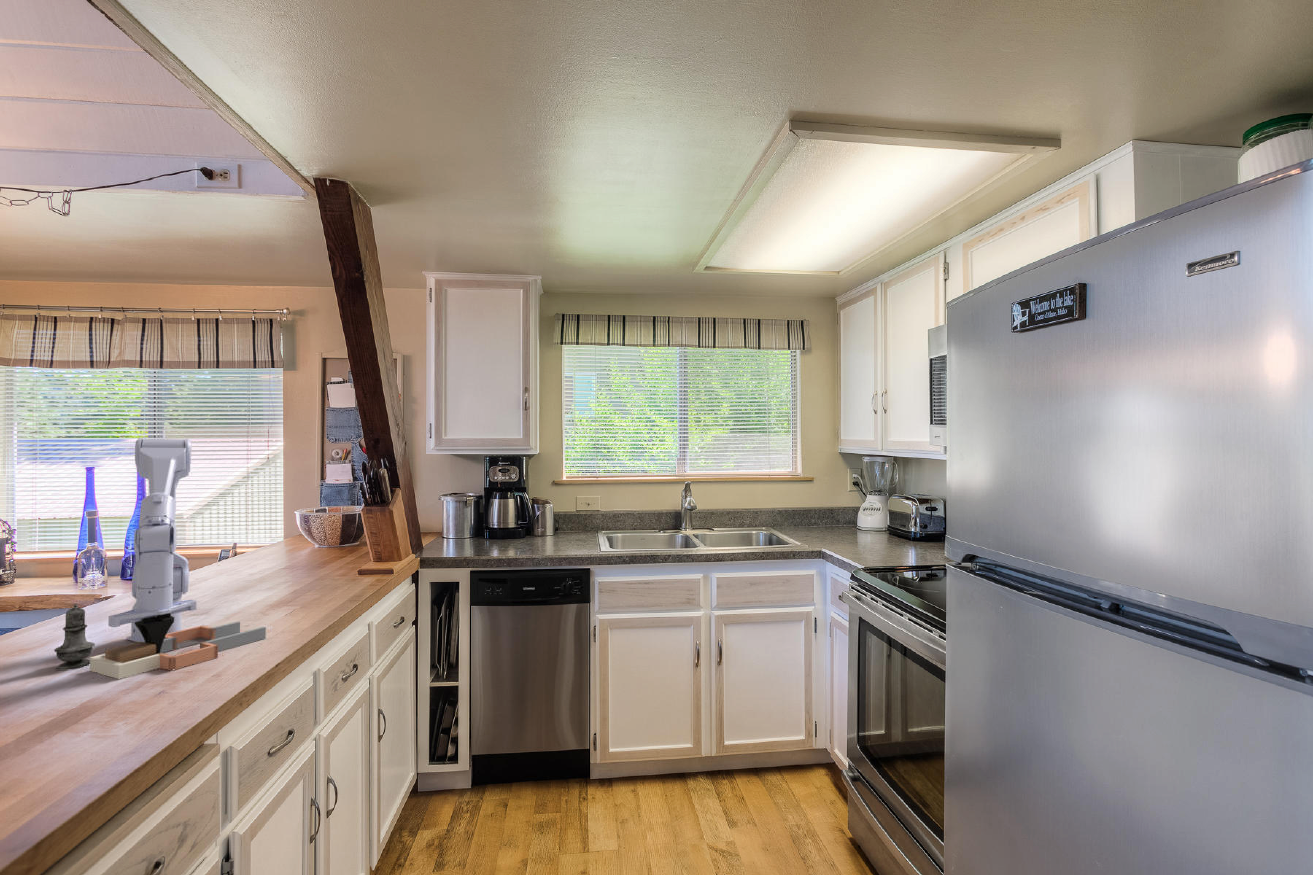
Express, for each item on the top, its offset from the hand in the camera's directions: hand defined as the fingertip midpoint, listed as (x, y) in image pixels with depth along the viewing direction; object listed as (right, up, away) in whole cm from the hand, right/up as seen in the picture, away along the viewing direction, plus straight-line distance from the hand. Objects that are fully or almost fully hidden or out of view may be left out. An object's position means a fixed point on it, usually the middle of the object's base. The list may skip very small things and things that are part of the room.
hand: (153, 654), depth 128 cm
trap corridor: (+2, -2, +5) cm, 6 cm away
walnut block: (-1, -1, -4) cm, 4 cm away
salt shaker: (-13, -2, -3) cm, 14 cm away
